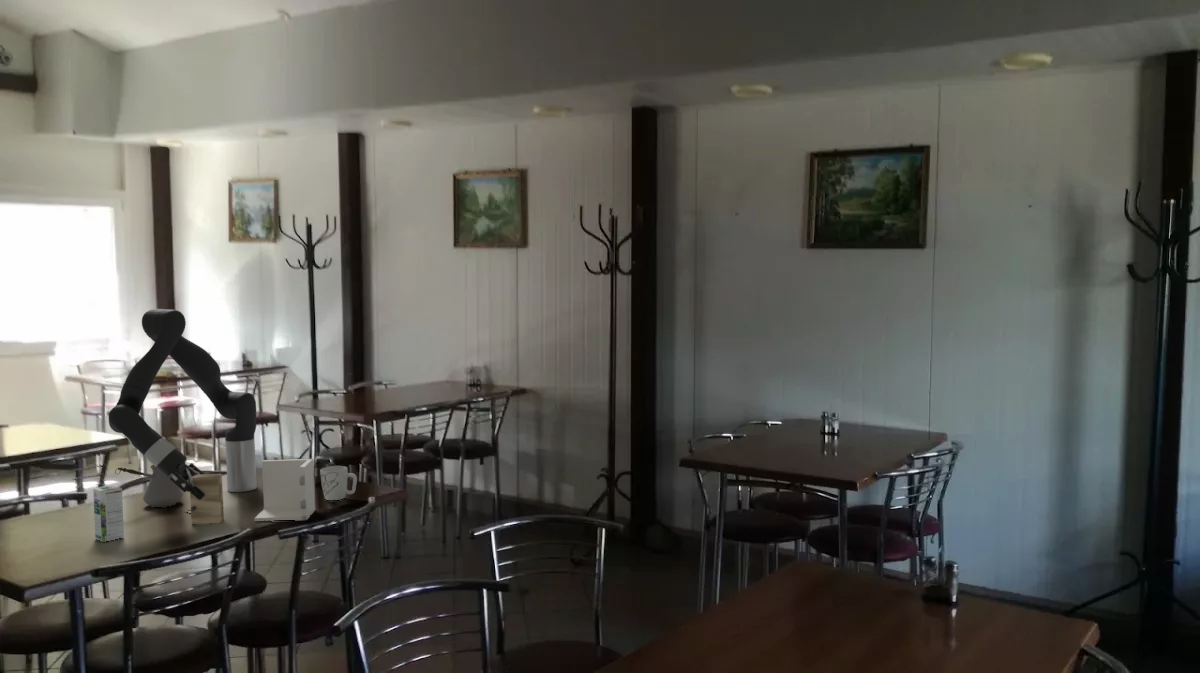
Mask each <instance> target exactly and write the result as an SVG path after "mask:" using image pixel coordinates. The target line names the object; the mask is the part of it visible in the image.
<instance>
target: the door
mask: <svg viewBox="0 0 1200 673" xmlns="http://www.w3.org/2000/svg"><path fill="white" fill-rule="evenodd" d="M192 478H193V483H194V484H195V486H197V487H198V488H199V489H200V490H201V491H202V492H203V493H204V494H205V496H204V497H203V498H202V499H201V500H198V499H197V498H196V497H195V496H194V495H193V494H192V493H190V492H189V500H190V502H189V503H190V510H191V514H190V517H191V518H190V520H191V524H190V525H192V524H199V525H209V524H208V523H220V522H221V521H222V522H223V521H224V520H225V518H224V517H225V516H224V514H225V513H224V512H225V511H224V494H223V492H224V490H223V474H222V473H213V474H200V475H194V476H192ZM222 522H221V523H222ZM221 523H220V524H221Z"/></svg>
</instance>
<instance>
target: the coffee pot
mask: <svg viewBox="0 0 1200 673" xmlns="http://www.w3.org/2000/svg"><path fill="white" fill-rule="evenodd" d="M150 468H151V470H152V473H147V472H146V473H145V472H142V471H138V470H135V469H130V468H128V469H127V468H125V467H124V468H123V467H117V468H116V469H115V470H114V473H115V474H116V475H120V474H121V471H122V472H123V473H125V472H126V473H129V474H132V475H138V476H144V477H147V478H150V480H149V482H148V484H147V486H146V488H145V491H144V495H143V497H142V498H143V501H144V503H145V504H147V505H148V506H149V507H150V506H151V507H150V508H153V507H162V508H168V507H167V506H169V507H173V506H176V505H177V504H178V502H179V501H180V500H181V499H182V497H183V495H184V494H183V493H184V492H183V491H182V490H181V489H180V488H179V487H178V486H177V485H176V484H175V483H174V482H173V481H171V480H170V477H171V476H172V475H173V474H172V475H171V476H169V477H167V476H165V475H164V474H163V473H162V472H161V471H160V470H159V469H158V468H156V467H155V466H154V465H153V464H151V465H150ZM117 470H118V473H117ZM176 503H177V504H176ZM172 505H173V506H172Z"/></svg>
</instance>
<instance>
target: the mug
mask: <svg viewBox="0 0 1200 673" xmlns="http://www.w3.org/2000/svg"><path fill="white" fill-rule="evenodd" d="M319 471H320V472H319V473H320V474H319V475H320V481H321V488H322V492H323V498H324V500H325V499H326V500H339V499H343V498H346V495H353V494H354V493H355V492H356V488H357V483H358V482H357V481H358V477H357V475H356V474H355V473H353V472H349V470H348V467H347V466H344V465H333V466H326V467H322V468H321V469H319ZM349 478H352V485H351V488H352V489H351V490H348V479H349ZM326 500H325V501H326ZM343 500H344V499H343Z"/></svg>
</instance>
